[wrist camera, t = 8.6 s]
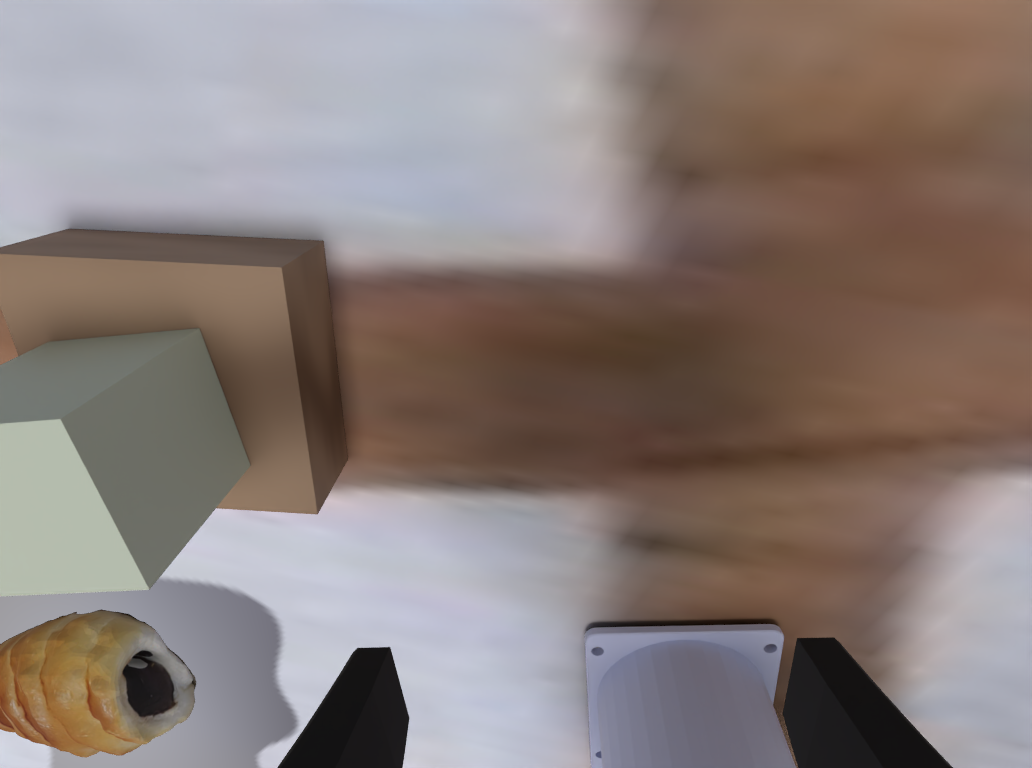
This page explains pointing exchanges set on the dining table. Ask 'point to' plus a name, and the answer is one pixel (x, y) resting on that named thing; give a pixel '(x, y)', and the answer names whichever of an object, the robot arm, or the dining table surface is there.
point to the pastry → (92, 684)
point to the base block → (206, 335)
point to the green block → (109, 460)
